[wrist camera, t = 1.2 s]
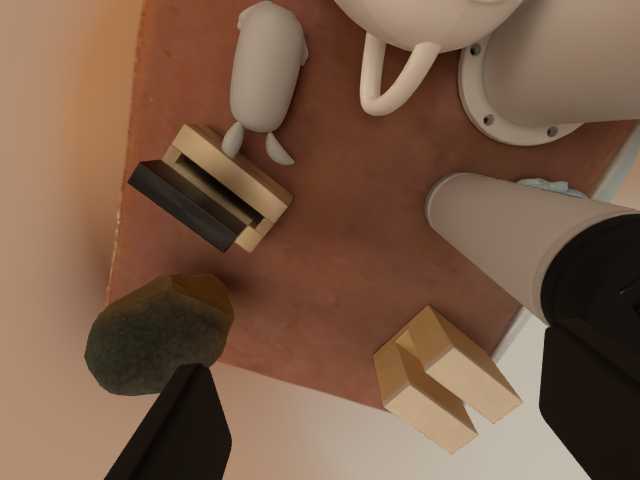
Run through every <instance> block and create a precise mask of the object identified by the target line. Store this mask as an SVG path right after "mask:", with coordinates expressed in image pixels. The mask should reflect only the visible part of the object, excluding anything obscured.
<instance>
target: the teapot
mask: <svg viewBox="0 0 640 480" xmlns="http://www.w3.org/2000/svg"><path fill="white" fill-rule="evenodd" d="M334 1H335V2H336V3H337V5H338V6H339V7H340V8H341V9H342V10H343V12H344V13H345V14H346V15H347V16H348V17H349V18H350V19H351V20H353V21H354V22H355V23H356V24H358V25H359V26H360V27H362V28H363V29H364V30H366V31H367V32H366V40H365V47H364V54H363V62H362V70H361V80H360V101H361V106H362V108H363V109H364V111H365V112H366V113H368V114H370V115H374V116H382V115H387V114H389V113H392V112H393V111H395V110H396V109H398V108H399V107H401V106H402V105H403V104H404V103H405V102H406V101H407V100H408V99H409V97H410V96H411V95H412V94H413V93H414V92H415V90H416V89H417V87H418V86H419V85H420V83H421V82H422V80H423V79H424V77H425V76H426V74H427V72H428V71H429V69H430V68H431V66H432V64H433V62H434V61H435V59H436V57H437V55H438V53H444V52H448V51H453V50H457V49H461V48H464V47H467V46H469V45H470V44H472V43H474V42H476V41H478V40H480V39H482V38H484V37H485V36H487V35H488V34H490V33H491V32H492V31H493V30H494V29H496V28H497V27H498V26H499V25H500V24H502V23H503V22H504V21H505V20H506V19H507V18H508V17H509V16H510V15H511V14H512V13H513V12H514V11H515V10H516V8H517V7H518V6H519V5H520V4H521V2H522V1H523V0H334ZM387 43H388V44H391V45H393V46H396V47H398V48H401V49H403V50H406V51H412V54H411V56H410V58H409V60H408V62H407V63H406V65H405V67H404V69H403V70H402V72H401V74H400V75H399V77H398V78H397V80H396V81H395V83H394V84H393V85H392V86H391V87H390V88H389V90H388V91H387V92H385V93H384V94H383V95H382V96H380V86H381V76H382V69H383V62H384V56H385V50H386V44H387Z"/></svg>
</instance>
